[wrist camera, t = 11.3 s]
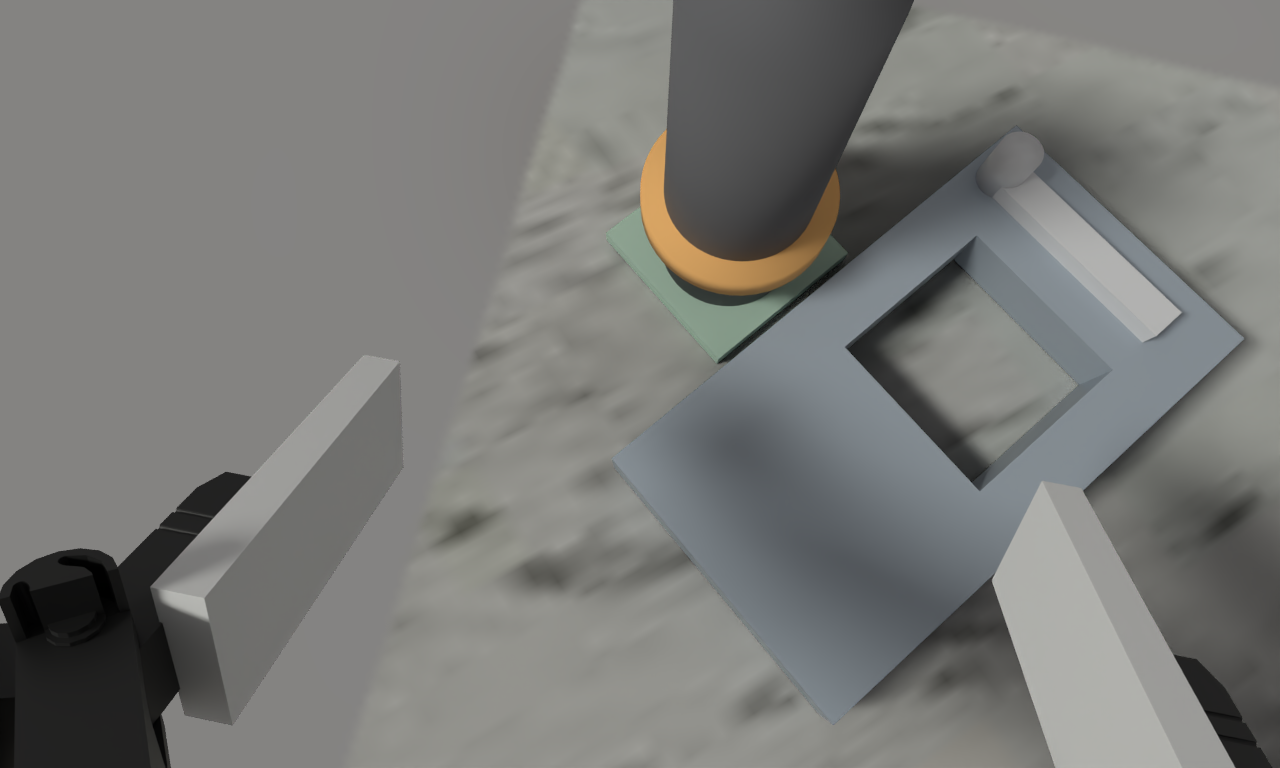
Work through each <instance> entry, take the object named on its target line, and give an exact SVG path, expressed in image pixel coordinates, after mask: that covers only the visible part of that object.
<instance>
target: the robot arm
mask: <svg viewBox="0 0 1280 768" xmlns="http://www.w3.org/2000/svg"><path fill="white" fill-rule="evenodd" d="M402 468H403V443H402V412H401V381H400V361H395V360H390V359H384V358H379V357H373V356H368V355H363V356H362V358H361V359H360V360H359V361H358V362H357V363H356V364H355V365H354V366H353V367H352V368H351V369H350V370H349V372H348V373H347V374H346V375H345V376H344V377H343V378H342V379H341V380H340V381H339V382H338V384H337V385H336V386H335V387H334V388H333V389H332V390H331V391H330V392H329V393H328V394H327V395H326V397H325V398H324V399H323V400H322V401H321V402H320V403H319V404H318V405H317V406H316V407H315V408H314V410H313V411H312V412H311V413H310V414H309V415H308V416H307V417H306V418H305V419H304V420H303V422H302V423H301V424H300V425H299V426H298V427H297V428H296V429H295V430H294V431H293V432H292V433H291V435H290V436H289V437H288V438H287V439H286V440H285V441H284V442H283V443H282V444H281V445H280V446H279V448H278V449H277V450H276V451H275V452H274V453H273V454H272V455H271V456H270V458H268V460H267V461H266V462H265V463H264V464H263V465H262V466H261V467H260V468H259V469H258V470H257V472H256V473H255V474H254V475H253V476H252V477H249V476H245V475H240V474H234V473H229V472H225V473H223V474H221V475H219V476H218V477H216V478H214V479H212V480H210V481H208V482H207V483H205V484H203V485H201V486H199V487H197V488H196V489H195V490H194V491H193V492H192V493H191V494H190V495H189V496H188V497H187V498H186V499H185V500H184V501H183V502H182V503H181V504H180V505H179V507H177V510H176V512H175V513H174V512H172V513H171V514H170V515H169V516H168V517H167V518H166V519H165V520H164V521H163V522H162V523H161V524H160V527H159V529H155V530H154V531H153V532H152V533H151V534H150V535H149V536H148V537H147V538H146V539H145V540H144V541H143V542H142V543H141V544H140V545H139V546H138V547H137V548H136V549H135V550H134V551H133V552H132V553H131V554H130V555H129V556H128V557H127V558H126V559H125V560H124V561H123V562H122V563H121V564H120V565H119V566H118V567H117V565H116V563H115V562H114V559H113V558H112V557H110V556H109V555H107V554H105V553H103V552H101V551H99V550H89V549H81V548H80V549H73V550H66V551H59V552H56V553H53V554H50V555H47V556H44V557H42V558H39V559H36V560H34V561H33V562H31V563H29V564H28V565H26V566H24V567H23V568H21V569H19V570H18V571H16V572H15V574H13V575H12V576H11V577H10V579H9V580H8V581H7V582H6V583H5V584H4V585H3V587H2V589H1V592H0V606H1V609H2V611H3V613H4V616H5V618H6V621H7V623H6V624H5V623H4V624H0V768H171V766H170V759H169V754H168V746H167V739H166V732H165V726H164V722H163V719H162V715H161V713H162V712H163V711H164V710H165V708H166V707H167V706H168V704H169V703H170V701H171V700H172V699H173V698H174V696H175V695H176V694H177V692H179V696H180V699H181V703H182V707H183V710H184V714H185V715H186V716H191V717H195V718H200V719H205V720H209V721H214V722H219V723H224V724H228V725H233V724H234V723H235V721H236V720H237V718H238V717H239V715H240V714H241V712H242V710H243V709H244V707H245V706H246V705H247V703H248V701H249V700H250V699H251V697H252V695H253V694H254V692H255V691H256V689H257V688H258V686H259V685H260V683H261V682H262V680H263V679H264V677H265V676H266V674H267V673H268V671H269V670H270V668H271V667H272V665H273V664H274V662H275V661H276V659H277V658H278V656H279V655H280V653H281V651H282V650H283V648H284V647H285V646H286V644H287V643H288V641H289V639H290V638H291V636H292V635H293V633H294V632H295V630H296V629H297V627H298V626H299V624H300V623H301V621H302V620H303V618H304V617H305V615H306V614H307V612H308V611H309V609H310V608H311V606H312V605H313V603H314V602H315V600H316V599H317V597H318V596H319V594H320V593H321V591H322V589H323V588H324V586H325V585H326V584H327V582H328V580H329V579H330V577H331V576H332V574H333V573H334V571H335V570H336V568H337V566H338V565H339V564H340V562H341V561H342V559H343V558H344V556H345V555H346V553H347V552H348V550H349V549H350V547H351V546H352V544H353V543H354V541H355V539H356V538H357V536H358V535H359V534H360V532H361V531H362V529H363V528H364V526H365V524H366V523H367V521H368V520H369V518H370V517H371V515H372V514H373V512H374V511H375V509H376V508H377V506H378V505H379V503H380V502H381V500H382V499H383V497H384V496H385V494H386V493H387V491H388V490H389V488H390V487H391V485H392V484H393V482H394V481H395V479H396V478H397V476H398V475H399V473H400V471H401V470H402ZM992 583H993V586H994V589H995V592H996V595H997V598H998V600H999V603H1000V606H1001V609H1002V612H1003V615H1004V618H1005V621H1006V624H1007V627H1008V630H1009V633H1010V636H1011V639H1012V642H1013V645H1014V648H1015V651H1016V653H1017V656H1018V659H1019V662H1020V665H1021V668H1022V671H1023V674H1024V677H1025V680H1026V683H1027V686H1028V689H1029V692H1030V695H1031V698H1032V701H1033V704H1034V706H1035V709H1036V712H1037V715H1038V718H1039V721H1040V724H1041V727H1042V730H1043V733H1044V736H1045V739H1046V742H1047V745H1048V748H1049V751H1050V754H1051V757H1052V759H1053V762H1054V765H1055V768H1272V767H1271V765H1270V763H1269V762H1268V760H1267V758H1266V756H1265V755H1264V753H1263V751H1262V750H1261V748H1257V746H1256V743H1257V741H1256V740H1255V738H1254V736H1253V735H1252V733H1251V731H1250V730H1249V728H1248V726H1247V725H1246V723H1242V716H1241V714H1240V713H1239V711H1238V709H1237V708H1236V706H1235V704H1234V703H1233V701H1232V699H1231V698H1230V696H1229V694H1228V693H1227V691H1226V689H1225V688H1224V687H1223V686H1222V685H1221V684H1220V683H1219V682H1218V681H1217V680H1216V679H1215V678H1214V677H1213V676H1212V675H1211V674H1210V673H1209V672H1208V670H1207V669H1206V668H1205V667H1204V666H1203V665H1202V664H1201V663H1200V662H1199V661H1198V660H1197V659H1192V658H1187V657H1182V656H1176V655H1173V654H1172V652H1171V650H1170V648H1169V646H1168V645H1167V643H1166V641H1165V639H1164V637H1163V636H1162V634H1161V632H1160V630H1159V628H1158V626H1157V625H1156V623H1155V621H1154V619H1153V617H1152V616H1151V614H1150V612H1149V610H1148V608H1147V607H1146V605H1145V603H1144V601H1143V599H1142V597H1141V596H1140V594H1139V592H1138V590H1137V588H1136V587H1135V585H1134V583H1133V581H1132V579H1131V577H1130V576H1129V574H1128V572H1127V570H1126V568H1125V567H1124V565H1123V563H1122V561H1121V559H1120V558H1119V556H1118V554H1117V552H1116V550H1115V548H1114V547H1113V545H1112V543H1111V541H1110V539H1109V538H1108V536H1107V534H1106V532H1105V530H1104V529H1103V527H1102V525H1101V523H1100V521H1099V519H1098V518H1097V516H1096V514H1095V512H1094V510H1093V509H1092V507H1091V505H1090V503H1089V501H1088V499H1087V498H1086V496H1085V494H1084V492H1083V490H1082V489H1081V488H1079V487H1073V486H1068V485H1063V484H1057V483H1052V482H1046V481H1042V482H1041V484H1040V486H1039V488H1038V490H1037V492H1036V494H1035V496H1034V498H1033V499H1032V501H1031V503H1030V505H1029V507H1028V509H1027V511H1026V513H1025V515H1024V517H1023V519H1022V521H1021V523H1020V525H1019V527H1018V529H1017V531H1016V533H1015V535H1014V537H1013V539H1012V541H1011V543H1010V545H1009V547H1008V549H1007V551H1006V553H1005V555H1004V557H1003V559H1002V561H1001V563H1000V565H999V567H998V569H997V571H996V573H995V575H994V577H993V579H992Z"/></svg>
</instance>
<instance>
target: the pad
mask: <svg viewBox="0 0 1280 768" xmlns="http://www.w3.org/2000/svg"><path fill="white" fill-rule="evenodd" d="M606 237H607V241H608V242H609V243H610V244H611V245H612V246H613V248H614V249H615V250H616V251H617V252H618V253H619V254H620V255H621V257H622V258H623V259H624V260H625V261H626V262H627V263H628V264H629V266H630V267H631V268H632V269H633V270H634V271H635V272H636V273H637V275H638V276H639V277H640V278H641V279H642V280H643V281H644V282H645V284H646V285H647V286H648V287H649V288H650V289H651V290H652V291H653V293H654V294H655V295H656V296H657V297H658V298H659V299H660V300H661V301H662V303H663V304H664V305H665V306H666V307H667V308H668V309H669V310H670V312H671V313H672V314H673V315H674V316H675V317H676V318H677V319H678V321H679V322H680V323H681V324H682V325H683V326H684V327H685V328H686V330H687V331H688V332H689V333H690V334H691V335H692V336H693V337H694V339H695V340H696V341H697V342H698V343H699V344H700V345H701V346H702V348H703V349H704V350H705V351H706V352H707V353H708V354H709V355H710V357H711V358H712V359H713V360H714V361H715V362H716V363H718V362H720V361H721V360H722V359H723V358H725V357H726V356H727V355H728V354H729V353H731V352H732V351H733V350H734V349H735V348H737V347H738V346H739V345H740V344H742V343H743V342H744V341H745V340H746V339H748V338H749V337H750V336H751V335H753V334H754V333H755V332H756V331H757V330H759V329H760V328H761V327H762V326H763V325H765V324H766V323H767V322H768V321H770V320H771V319H772V318H773V317H774V316H776V315H777V314H778V313H779V312H781V311H782V310H783V309H784V308H785V307H787V306H788V305H789V304H790V303H791V302H793V301H794V300H795V299H796V298H798V297H799V296H800V295H801V294H802V293H804V292H805V291H806V290H807V289H809V288H810V287H811V286H812V285H813V284H815V283H816V282H817V281H818V280H819V279H821V278H822V277H823V276H824V275H826V274H827V273H828V272H829V271H830V270H832V269H833V268H834V267H835V266H837V265H838V264H839V263H840V262H841V261H843V260H844V258H845V257H846V255H847V254H848V252H847V251H846V250H845V249H844V248H843V247H842V246H841V245H840V244H839V243H838V242H837V241H836V240H835V239H834V238H833V237H832V236H831V235H830V236H829V238H828V239H827V241H826V243H825V245H824V247H823V248H822V250H821V252H820V253H819V255H818V257H817V258H816V259H815V260H814V262H813V263H812V264H811V265H810V266H809V267H808V268H807V269H806V270H805V271H804V272H803V273H802V274H801V275H799V276H798V277H796V278H795V279H794V280H792V281H791V282H789V283H787V284H785V285H783V286H781V287H779V288H776V289H774V290H772V291H771V292H769V293H768V294H767V295H765V296H764V297H762V298H760V299H758V300H756V301H753V302H751V303H748V304H744V305H739V306H718V305H712V304H709V303H705V302H703V301H700V300H698V299H696V298H694V297H692V296H691V295H689V294H688V293H686V292H685V291H684V290H682V289H681V288H680V287H679V286H678V285H677V284H676V282H675V281H674V280H673V279H672V277H671V276H670V274H669V272H668V271H667V269H666V266H665V264H664V263H663V262H662V261H661V259H660V258H659V257H658V255H657V254H656V253H655V251H654V249H653V248H652V246H651V244H650V243H649V240H648V238H647V236H646V233H645V230H644V226H643V223H642V217H641V207H639V208H638V209H637V210H635V211H634V212H633V213H631V214H630V215H629V216H628V217H626V218H625V219H624V220H622V221H621V222H620V223H618V224H617V225H616V226H615V227H613V228H612V229H611V230H609V231H608V232H607V233H606Z"/></svg>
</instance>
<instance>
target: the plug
mask: <svg viewBox="0 0 1280 768" xmlns="http://www.w3.org/2000/svg"><path fill="white" fill-rule="evenodd" d="M913 2H914V0H673V19H672V38H671V57H670V76H669V96H668V115H667V129H666V130H665V131H664V133H663V134H662V135H661V136H660V137H659V138H658V140H657V141H656V143H655V144H654V146H653V147H652V149H651V151H650V153H649V155H648V157H647V159H646V162H645V165H644V168H643V172H642V178H641V192H640V199H641V217H642V223H643V226H644V230H645V233H646V236H647V238H648V240H649V243H650V244H651V246H652V248H653V249H654V251H655V253H656V254H657V255H658V257H659V258H660V259H661V261H662V262H663V263H664V264H665V266H666V269H667V271H668V272H669V274H670V276H671V277H672V279H673V280H674V281H675V282H676V284H677V285H678V286H679V287H680V288H681V289H682V290H684V291H685V292H686V293H688V294H689V295H691V296H692V297H694V298H696V299H698V300H700V301H703V302H705V303H709V304H712V305H718V306H739V305H744V304H748V303H751V302H753V301H756V300H758V299H760V298H762V297H764V296H765V295H767V294H768V293H769V292H771V291H772V290H774V289H776V288H779V287H781V286H783V285H785V284H787V283H789V282H791V281H792V280H794V279H795V278H796V277H798V276H799V275H801V274H802V273H803V272H804V271H805V270H806V269H807V268H808V267H809V266H810V265H811V264H812V263H813V262H814V260H815V259H816V258H817V257H818V255H819V253H820V252H821V250H822V248H823V247H824V245H825V243H826V241H827V239H828V238H829V236H830V234H831V232H832V230H833V227H834V225H835V222H836V219H837V215H838V211H839V203H840V185H839V180H838V174H837V171H836V166H837V164H838V162H839V160H840V157H841V155H842V153H843V151H844V149H845V147H846V145H847V143H848V140H849V138H850V136H851V134H852V132H853V130H854V128H855V126H856V124H857V121H858V119H859V117H860V115H861V113H862V111H863V109H864V107H865V105H866V102H867V100H868V98H869V96H870V94H871V92H872V90H873V88H874V85H875V83H876V81H877V79H878V77H879V75H880V73H881V71H882V69H883V66H884V64H885V62H886V60H887V58H888V56H889V54H890V52H891V49H892V47H893V45H894V43H895V41H896V39H897V37H898V35H899V33H900V30H901V28H902V26H903V24H904V22H905V20H906V18H907V16H908V13H909V11H910V9H911V6H912V4H913Z"/></svg>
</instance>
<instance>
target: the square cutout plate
mask: <svg viewBox="0 0 1280 768" xmlns="http://www.w3.org/2000/svg"><path fill="white" fill-rule="evenodd" d="M953 259H954V260H955V261H956V262H957V263H958V264H959V265H960V266H961V267H962V268H963V269H964V270H965V271H966V272H967V273H968V274H969V275H970V276H971V277H972V278H973V279H974V280H975V281H976V282H977V283H978V284H979V285H980V286H981V287H982V288H983V289H984V290H985V291H986V292H987V293H988V294H989V295H990V296H991V297H992V298H993V299H994V300H995V301H996V302H997V303H998V304H999V305H1000V306H1001V307H1002V308H1003V309H1004V310H1005V311H1006V312H1007V313H1008V314H1009V315H1010V316H1011V317H1012V318H1013V319H1014V320H1015V321H1016V322H1017V323H1018V324H1019V325H1020V326H1021V327H1022V328H1023V329H1024V330H1025V331H1026V332H1027V333H1028V334H1029V335H1030V336H1031V337H1032V338H1033V339H1034V340H1035V341H1036V342H1037V343H1038V344H1039V345H1040V346H1041V347H1042V348H1043V349H1044V350H1045V351H1046V352H1047V353H1048V354H1049V355H1050V356H1051V357H1052V358H1053V359H1054V360H1055V361H1056V362H1057V363H1058V364H1059V365H1060V366H1061V367H1062V368H1063V369H1064V370H1065V371H1066V372H1067V373H1068V374H1069V375H1070V376H1071V377H1072V378H1073V379H1074V380H1075V381H1076V382H1077V383H1078V384H1079V385H1078V386H1077V387H1076V388H1075V389H1074V390H1073V391H1072V392H1071V393H1070V394H1068V395H1067V396H1066V397H1065V398H1064V399H1063V400H1062V401H1061V402H1060V403H1059V404H1057V405H1056V406H1055V407H1054V408H1053V409H1052V410H1051V411H1050V412H1049V413H1048V414H1046V415H1045V416H1044V417H1043V418H1042V419H1041V420H1040V421H1039V422H1038V423H1037V424H1035V425H1034V426H1033V427H1032V428H1031V429H1030V430H1029V431H1028V432H1027V433H1026V434H1024V435H1023V436H1022V437H1021V438H1020V439H1019V440H1018V441H1017V442H1016V443H1015V444H1013V445H1012V446H1011V447H1010V448H1009V449H1008V450H1007V451H1006V452H1005V453H1004V454H1002V455H1001V456H1000V457H999V458H998V459H997V460H996V461H995V462H994V463H993V464H992V465H990V466H989V467H988V468H987V469H986V470H985V471H984V472H983V473H982V474H981V475H979V476H978V477H977V478H976V479H975V480H974V481H973V482H972V483H971V482H970V480H969V479H968V478H967V477H966V476H965V475H964V474H963V473H962V472H961V471H960V470H959V469H958V468H957V467H956V465H955V464H954V463H953V462H952V461H951V460H950V459H949V458H948V457H947V456H946V455H945V454H944V453H943V452H942V451H941V449H940V448H939V447H938V446H937V445H936V444H935V443H934V442H933V441H932V440H931V439H930V438H929V437H928V436H927V434H926V433H925V432H924V431H923V430H922V429H921V428H920V427H919V426H918V425H917V424H916V423H915V422H914V421H913V420H912V418H911V417H910V416H909V415H908V414H907V413H906V412H905V411H904V410H903V409H902V408H901V407H900V406H899V405H898V404H897V402H896V401H895V400H894V399H893V398H892V397H891V396H890V395H889V394H888V393H887V392H886V391H885V390H884V389H883V387H882V386H881V385H880V384H879V383H878V382H877V381H876V380H875V379H874V378H873V377H872V376H871V375H870V374H869V373H868V371H867V370H866V369H865V368H864V367H863V366H862V365H861V364H860V363H859V362H858V361H857V360H856V359H855V358H854V357H853V355H852V354H851V353H850V352H849V351H848V350H847V349H848V348H849V347H850V346H852V345H853V344H854V343H855V342H856V341H858V340H859V339H860V338H861V337H862V336H863V335H865V334H866V333H867V332H868V331H869V330H871V329H872V328H873V327H874V326H875V325H876V324H878V323H879V322H880V321H881V320H882V319H884V318H885V317H886V316H887V315H888V314H889V313H891V312H892V311H893V310H894V309H895V308H897V307H898V306H899V305H900V304H901V303H902V302H904V301H905V300H906V299H907V298H908V297H910V296H911V295H912V294H913V293H914V292H915V291H917V290H918V289H919V288H920V287H921V286H923V285H924V284H925V283H926V282H927V281H929V280H930V279H931V278H932V277H933V276H934V275H936V274H937V273H938V272H939V271H940V270H942V269H943V268H944V267H945V266H946V265H947V264H949V263H950V262H951V261H952V260H953ZM1243 340H1244V338H1243V337H1242V336H1241V335H1240V334H1239V333H1238V332H1237V331H1236V330H1235V329H1234V328H1233V327H1232V326H1231V325H1229V324H1228V323H1227V322H1226V321H1225V320H1224V319H1223V318H1222V317H1221V316H1220V315H1219V314H1218V313H1217V312H1216V311H1214V310H1213V309H1212V308H1211V307H1210V306H1209V305H1208V304H1207V303H1206V302H1205V301H1204V300H1203V299H1202V298H1201V297H1200V296H1198V295H1197V294H1196V293H1195V292H1194V291H1193V290H1192V289H1191V288H1190V287H1189V286H1188V285H1187V284H1186V283H1185V282H1184V281H1182V280H1181V279H1180V278H1179V277H1178V276H1177V275H1176V274H1175V273H1174V272H1173V271H1172V270H1171V269H1170V268H1169V267H1168V266H1166V265H1165V264H1164V263H1163V262H1162V261H1161V260H1160V259H1159V258H1158V257H1157V256H1156V255H1155V254H1154V253H1153V252H1151V251H1150V250H1149V249H1148V248H1147V247H1146V246H1145V245H1144V244H1143V243H1142V242H1141V241H1140V240H1139V239H1138V238H1137V237H1135V236H1134V235H1133V234H1132V233H1131V232H1130V231H1129V230H1128V229H1127V228H1126V227H1125V226H1124V225H1123V224H1122V223H1121V222H1119V221H1118V220H1117V219H1116V218H1115V217H1114V216H1113V215H1112V214H1111V213H1110V212H1109V211H1108V210H1107V209H1106V208H1105V207H1103V206H1102V205H1101V204H1100V203H1099V202H1098V201H1097V200H1096V199H1095V198H1094V197H1093V196H1092V195H1091V194H1090V193H1088V192H1087V191H1086V190H1085V189H1084V188H1083V187H1082V186H1081V185H1080V184H1079V183H1078V182H1077V181H1076V180H1075V179H1074V178H1072V177H1071V176H1070V175H1069V174H1068V173H1067V172H1066V171H1065V170H1064V169H1063V168H1062V167H1061V166H1060V165H1059V164H1058V163H1056V162H1055V161H1054V160H1053V159H1052V158H1051V157H1050V156H1049V155H1048V154H1047V153H1046V152H1045V151H1044V149H1043V146H1042V144H1041V143H1040V141H1039V140H1038V139H1037V138H1036V137H1035V136H1033V135H1031V134H1029V133H1026V132H1023V131H1022V130H1021V129H1020V128H1019V127H1018V126H1017V125H1016V126H1015V127H1014V128H1012V129H1011V130H1010V131H1009V132H1008V133H1006V134H1005V135H1004V136H1003V137H1002V138H1000V139H999V140H998V141H997V142H995V143H994V144H993V145H992V146H991V147H989V148H988V149H987V150H986V151H985V152H983V153H982V154H981V155H980V156H978V157H977V158H976V159H975V160H974V161H972V162H971V163H970V164H969V165H968V166H966V167H965V168H964V169H963V170H961V171H960V172H959V173H958V174H957V175H955V176H954V177H953V178H952V179H951V180H949V181H948V182H947V183H946V184H944V185H943V186H942V187H941V188H940V189H938V190H937V191H936V192H935V193H934V194H932V195H931V196H930V197H929V198H927V199H926V200H925V201H924V202H923V203H921V204H920V205H919V206H918V207H917V208H915V209H914V210H913V211H912V212H910V213H909V214H908V215H907V216H906V217H904V218H903V219H902V220H901V221H900V222H898V223H897V224H896V225H895V226H893V227H892V228H891V229H890V230H889V231H887V232H886V233H885V234H884V235H883V236H881V237H880V238H879V239H878V240H876V241H875V242H874V243H873V244H872V245H870V246H869V247H868V248H867V249H866V250H864V251H863V252H862V253H861V254H859V255H858V256H857V257H856V258H855V259H853V260H852V261H851V262H850V263H849V264H847V265H846V266H845V267H844V268H842V269H841V270H840V271H839V272H838V273H836V274H835V275H834V276H833V277H832V278H830V279H829V280H828V281H827V282H825V283H824V284H823V285H822V286H821V287H819V288H818V289H817V290H816V291H815V292H813V293H812V294H811V295H810V296H808V297H807V298H806V299H805V300H804V301H802V302H801V303H800V304H799V305H798V306H796V307H795V308H794V309H793V310H791V311H790V312H789V313H788V314H787V315H785V316H784V317H783V318H782V319H781V320H779V321H778V322H777V323H776V324H774V325H773V326H772V327H771V328H770V329H768V330H767V331H766V332H765V333H764V334H762V335H761V336H760V337H759V338H757V339H756V340H755V341H754V342H753V343H751V344H750V345H749V346H748V347H747V348H745V349H744V350H743V351H742V352H740V353H739V354H738V355H737V356H736V357H734V358H733V359H732V360H731V361H730V362H728V363H727V364H726V365H725V366H723V367H722V368H721V369H720V370H719V371H717V372H716V373H715V374H714V375H713V376H711V377H710V378H709V379H708V380H706V381H705V382H704V383H703V384H702V385H700V386H699V387H698V388H697V389H696V390H694V391H693V392H692V393H691V394H689V395H688V396H687V397H686V398H685V399H683V400H682V401H681V402H680V403H679V404H677V405H676V406H675V407H674V408H672V409H671V410H670V411H669V412H668V413H666V414H665V415H664V416H663V417H662V418H660V419H659V420H658V421H657V422H655V423H654V424H653V425H652V426H651V427H649V428H648V429H647V430H646V431H645V432H643V433H642V434H641V435H640V436H638V437H637V438H636V439H635V440H634V441H632V442H631V443H630V444H629V445H628V446H626V447H625V448H624V449H623V450H621V451H620V452H619V453H618V454H617V455H615V456H614V457H613V458H612V462H613V465H614V468H615V469H616V470H617V472H618V473H619V474H620V475H621V476H622V478H623V479H624V480H625V481H626V482H627V484H628V485H629V486H630V487H631V488H632V490H633V491H634V492H635V493H636V494H637V496H638V497H639V498H640V499H641V500H642V502H643V503H644V504H645V505H646V507H647V508H648V509H649V510H650V511H651V513H652V514H653V515H654V516H655V517H656V519H657V520H658V521H659V522H660V523H661V525H662V526H663V527H664V528H665V529H666V531H667V532H668V533H669V534H670V535H671V537H672V538H673V539H674V540H675V541H676V543H677V544H678V545H679V546H680V547H681V549H682V550H683V551H684V552H685V554H686V555H687V556H688V557H689V558H690V560H691V561H692V562H693V563H694V564H695V566H696V567H697V568H698V569H699V570H700V572H701V573H702V574H703V575H704V576H705V578H706V579H707V580H708V581H709V582H710V584H711V585H712V586H713V587H714V588H715V590H716V591H717V592H718V593H719V594H720V596H721V597H722V598H723V599H724V601H725V602H726V603H727V604H728V605H729V607H730V608H731V609H732V610H733V611H734V613H735V614H736V615H737V616H738V617H739V619H740V620H741V621H742V622H743V623H744V625H745V626H746V627H747V628H748V629H749V631H750V632H751V633H752V634H753V635H754V637H755V638H756V639H757V640H758V642H759V643H760V644H761V645H762V646H763V648H764V649H765V650H766V651H767V652H768V654H769V655H770V656H771V657H772V658H773V660H774V661H775V662H776V663H777V664H778V666H779V667H780V668H781V669H782V670H783V672H784V673H785V674H786V675H787V676H788V678H789V679H790V680H791V681H792V682H793V684H794V685H795V686H796V687H797V689H798V690H799V691H800V692H801V693H802V695H803V696H804V697H805V698H806V699H807V701H808V702H809V703H810V704H811V705H812V707H813V708H814V709H815V710H816V711H817V713H818V714H819V715H821V716H822V717H823V718H825V719H826V720H827V721H829V722H830V723H831V724H832V725H834V724H835V723H836V722H837V721H838V720H839V719H841V718H842V717H843V716H844V715H845V714H846V713H847V712H848V711H849V710H850V709H851V708H852V707H853V706H854V705H855V704H856V703H858V702H859V701H860V700H861V699H862V698H863V697H864V696H865V695H866V694H867V693H868V692H869V691H870V690H871V689H872V688H873V687H875V686H876V685H877V684H878V683H879V682H880V681H881V680H882V679H883V678H884V677H885V676H886V675H887V674H888V673H889V672H890V671H892V670H893V669H894V668H895V667H896V666H897V665H898V664H899V663H900V662H901V661H902V660H903V659H904V658H905V657H906V656H908V655H909V654H910V653H911V652H912V651H913V650H914V649H915V648H916V647H917V646H918V645H919V644H920V643H921V642H922V641H923V640H925V639H926V638H927V637H928V636H929V635H930V634H931V633H932V632H933V631H934V630H935V629H936V628H937V627H938V626H939V625H940V624H942V623H943V622H944V621H945V620H946V619H947V618H948V617H949V616H950V615H951V614H952V613H953V612H954V611H955V610H956V609H957V608H959V607H960V606H961V605H962V604H963V603H964V602H965V601H966V600H967V599H968V598H969V597H970V596H971V595H972V594H973V593H975V592H976V591H977V590H978V589H979V588H980V587H981V586H982V585H983V584H984V583H985V582H986V581H987V580H988V579H989V578H990V577H992V576H993V575H994V574H995V573H996V571H997V569H998V567H999V565H1000V563H1001V561H1002V559H1003V557H1004V555H1005V553H1006V551H1007V549H1008V547H1009V545H1010V543H1011V541H1012V539H1013V537H1014V535H1015V533H1016V531H1017V529H1018V527H1019V525H1020V523H1021V521H1022V519H1023V517H1024V515H1025V513H1026V511H1027V509H1028V507H1029V505H1030V503H1031V501H1032V499H1033V498H1034V496H1035V494H1036V492H1037V490H1038V488H1039V486H1040V484H1041V482H1042V481H1046V482H1052V483H1057V484H1063V485H1068V486H1073V487H1079V488H1081V489H1082V490H1084V489H1085V488H1086V487H1087V486H1088V485H1089V484H1090V483H1091V482H1093V481H1094V480H1095V479H1096V478H1097V477H1098V476H1099V475H1100V474H1101V473H1102V472H1103V471H1104V470H1105V469H1106V468H1107V467H1109V466H1110V465H1111V464H1112V463H1113V462H1114V461H1115V460H1116V459H1117V458H1118V457H1119V456H1120V455H1121V454H1122V453H1123V452H1124V451H1126V450H1127V449H1128V448H1129V447H1130V446H1131V445H1132V444H1133V443H1134V442H1135V441H1136V440H1137V439H1138V438H1139V437H1140V436H1141V435H1143V434H1144V433H1145V432H1146V431H1147V430H1148V429H1149V428H1150V427H1151V426H1152V425H1153V424H1154V423H1155V422H1156V421H1157V420H1158V419H1160V418H1161V417H1162V416H1163V415H1164V414H1165V413H1166V412H1167V411H1168V410H1169V409H1170V408H1171V407H1172V406H1173V405H1174V404H1176V403H1177V402H1178V401H1179V400H1180V399H1181V398H1182V397H1183V396H1184V395H1185V394H1186V393H1187V392H1188V391H1189V390H1190V389H1191V388H1193V387H1194V386H1195V385H1196V384H1197V383H1198V382H1199V381H1200V380H1201V379H1202V378H1203V377H1204V376H1205V375H1206V374H1207V373H1208V372H1210V371H1211V370H1212V369H1213V368H1214V367H1215V366H1216V365H1217V364H1218V363H1219V362H1220V361H1221V360H1222V359H1223V358H1224V357H1225V356H1227V355H1228V354H1229V353H1230V352H1231V351H1232V350H1233V349H1234V348H1235V347H1236V346H1237V345H1238V344H1239V343H1240V342H1241V341H1243Z"/></svg>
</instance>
